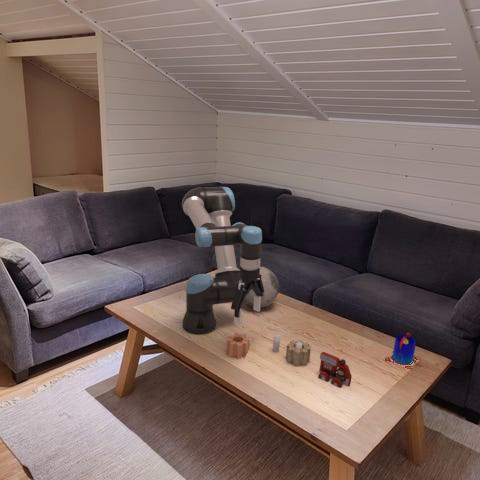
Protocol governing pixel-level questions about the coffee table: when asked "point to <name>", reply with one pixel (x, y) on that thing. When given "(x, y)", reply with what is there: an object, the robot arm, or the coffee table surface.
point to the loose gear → (237, 345)
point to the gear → (298, 353)
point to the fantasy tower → (403, 350)
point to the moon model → (265, 289)
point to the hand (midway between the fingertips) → (247, 317)
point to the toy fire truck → (334, 370)
